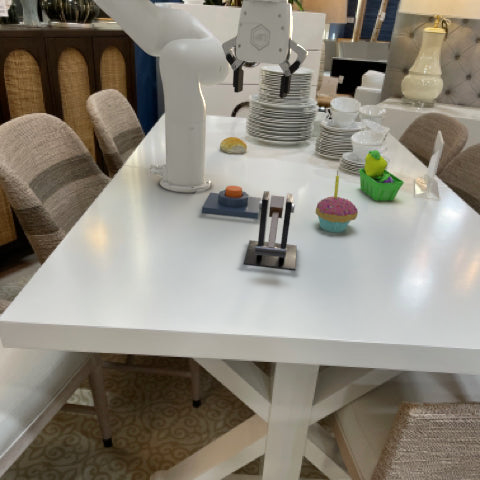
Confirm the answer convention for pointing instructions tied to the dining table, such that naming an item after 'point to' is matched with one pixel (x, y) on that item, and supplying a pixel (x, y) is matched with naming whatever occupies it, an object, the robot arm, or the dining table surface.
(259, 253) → the lever
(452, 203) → the dining table surface
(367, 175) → the fruit basket
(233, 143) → the bread roll
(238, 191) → the button
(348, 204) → the cupcake
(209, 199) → the button block
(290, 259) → the bracket
